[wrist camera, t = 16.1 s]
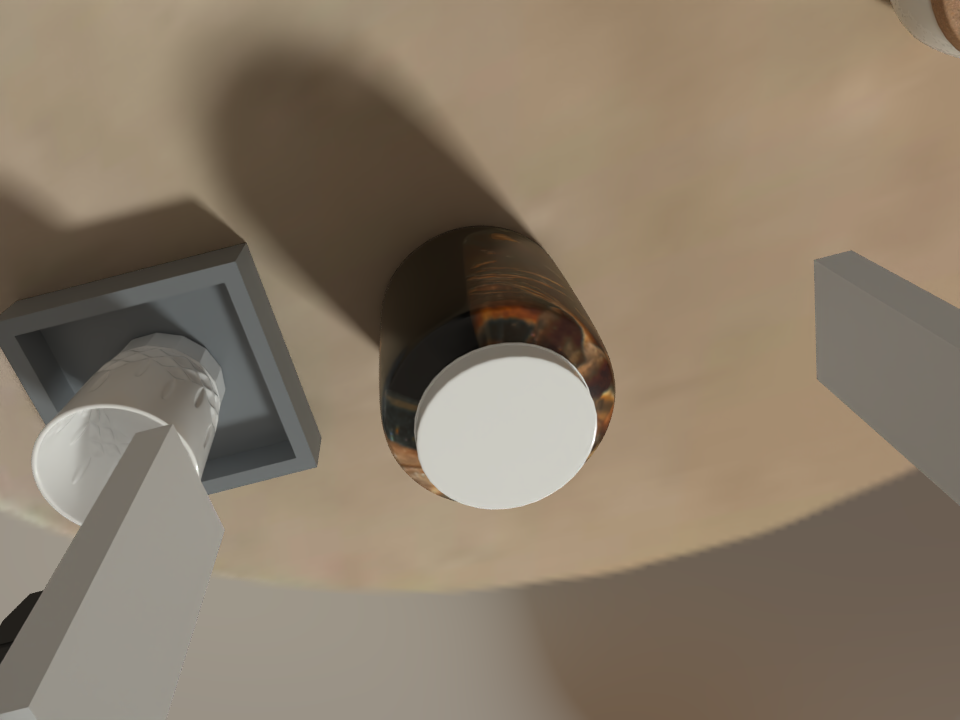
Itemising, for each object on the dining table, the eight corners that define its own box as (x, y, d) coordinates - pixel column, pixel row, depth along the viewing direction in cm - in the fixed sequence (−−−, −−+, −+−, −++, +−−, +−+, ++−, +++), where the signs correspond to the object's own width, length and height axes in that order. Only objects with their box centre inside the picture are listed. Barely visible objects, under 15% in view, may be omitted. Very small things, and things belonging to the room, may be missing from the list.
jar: (414, 197, 44) (425, 284, 31) (592, 255, 47) (675, 358, 33) (359, 369, 48) (348, 512, 35) (525, 413, 51) (574, 560, 38)
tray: (16, 301, 44) (-13, 324, 41) (246, 242, 44) (235, 261, 41) (119, 489, 50) (102, 521, 47) (321, 437, 50) (316, 467, 47)
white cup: (102, 428, 47) (35, 529, 38) (100, 314, 44) (26, 395, 35) (231, 441, 48) (196, 542, 40) (238, 331, 45) (201, 414, 36)
